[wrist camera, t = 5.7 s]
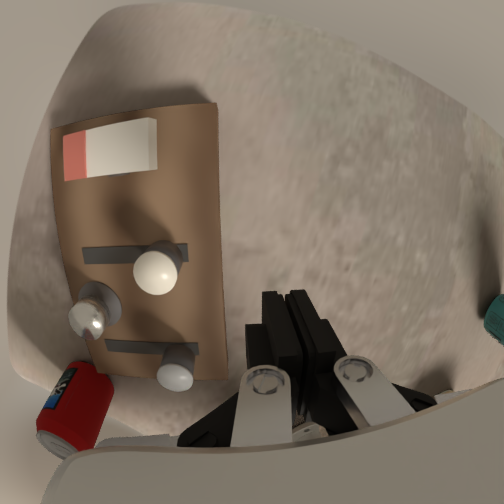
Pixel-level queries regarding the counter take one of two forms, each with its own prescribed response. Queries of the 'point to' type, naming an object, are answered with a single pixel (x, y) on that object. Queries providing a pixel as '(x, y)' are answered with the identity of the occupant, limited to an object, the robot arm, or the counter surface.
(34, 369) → the counter surface
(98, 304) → the button
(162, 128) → the console
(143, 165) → the block
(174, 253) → the lever ivory
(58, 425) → the beverage can
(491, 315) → the beverage bottle
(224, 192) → the counter surface
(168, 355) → the lever grey
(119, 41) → the counter surface
